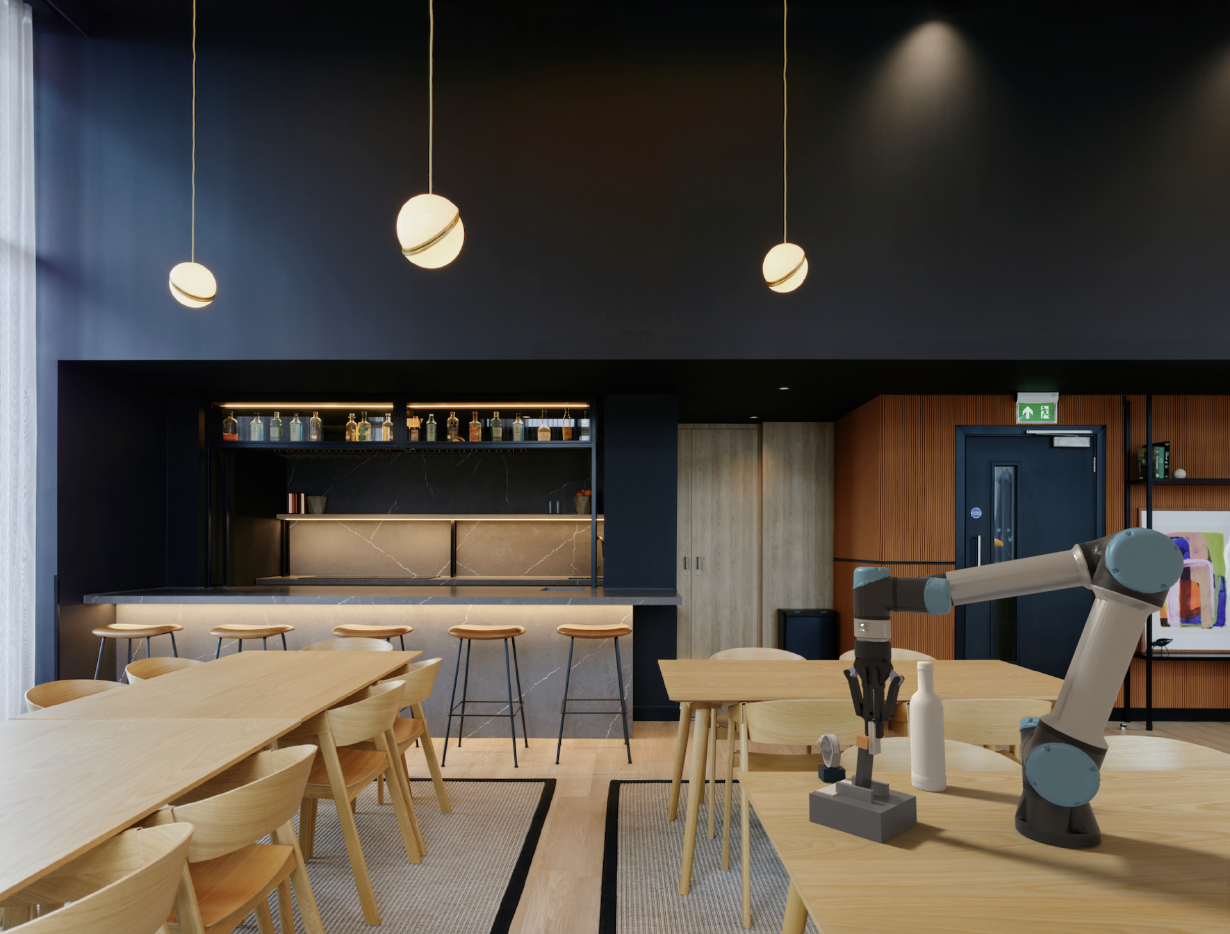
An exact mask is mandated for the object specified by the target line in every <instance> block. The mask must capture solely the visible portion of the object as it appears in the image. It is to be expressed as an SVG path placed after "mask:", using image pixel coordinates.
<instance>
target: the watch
mask: <svg viewBox="0 0 1230 934" xmlns="http://www.w3.org/2000/svg"><path fill="white" fill-rule="evenodd" d="M840 744H841V743H840V740H839V737H838V736H837V734H833V733H825V734H822V735H821V736H820V737H819V738H818V740H817V741H816V745H818V746H819V750H820V753H821V754H822V759H823V762H824V764H817V775H818V777H817V778H819V780H821V781H822V782H823V783H826V784H827V783H832V784H834V783H836V782H838V781H842V780H844V779H847V777H846V772H847V771H846V768H844V767H843V766H842V765H840V764H841V760H842V758H841V757H842V754H841V745H840Z"/></svg>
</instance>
